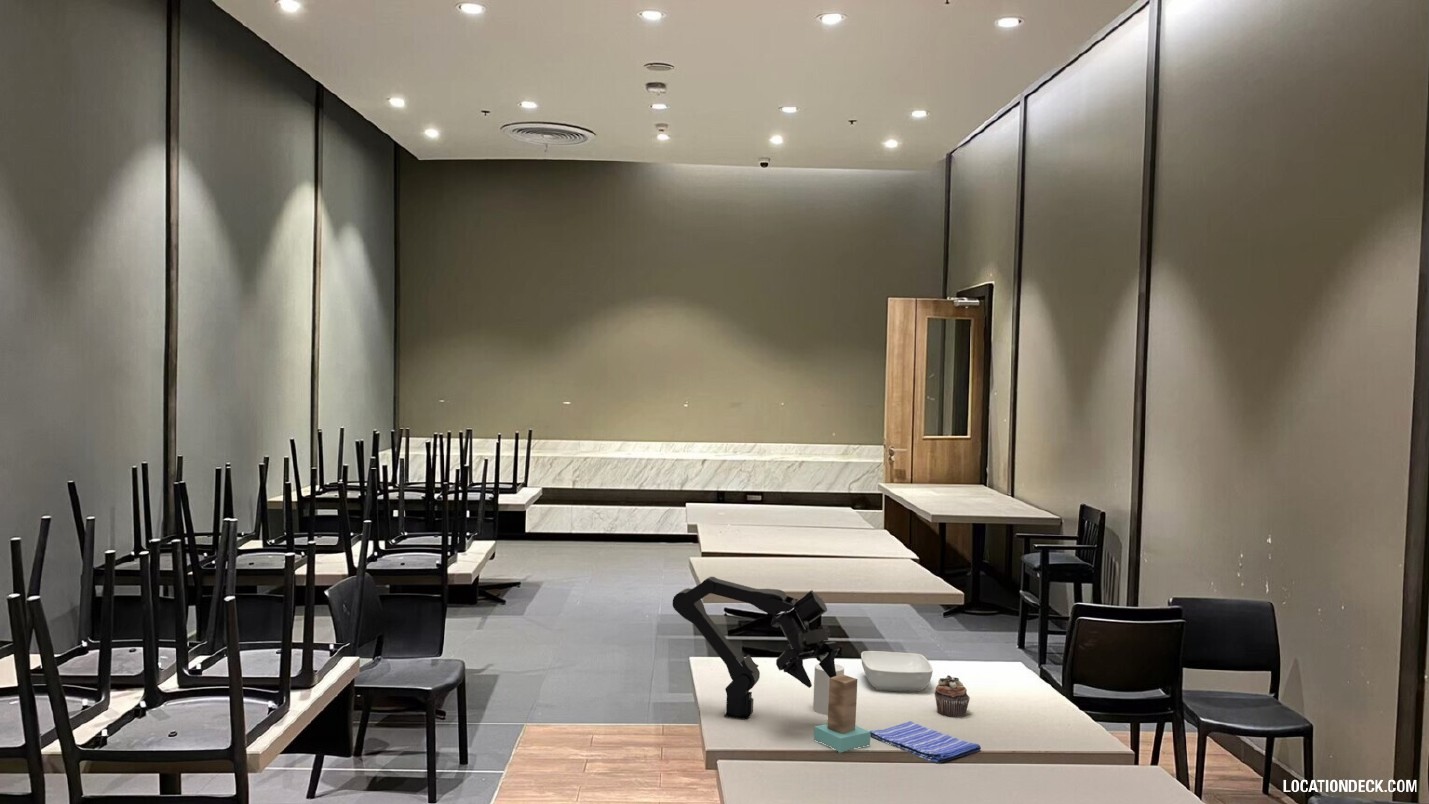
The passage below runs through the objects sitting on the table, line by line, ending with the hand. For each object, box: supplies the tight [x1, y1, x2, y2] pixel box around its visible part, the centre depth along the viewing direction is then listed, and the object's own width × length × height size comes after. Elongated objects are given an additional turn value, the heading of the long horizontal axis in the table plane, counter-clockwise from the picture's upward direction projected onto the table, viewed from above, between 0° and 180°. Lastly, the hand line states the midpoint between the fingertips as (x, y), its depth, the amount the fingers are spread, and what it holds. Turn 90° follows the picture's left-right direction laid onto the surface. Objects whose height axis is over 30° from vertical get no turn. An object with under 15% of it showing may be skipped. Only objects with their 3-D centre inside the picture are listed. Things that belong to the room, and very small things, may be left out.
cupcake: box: [934, 675, 971, 718], centre depth 295 cm, size 10×10×10 cm
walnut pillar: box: [827, 674, 858, 734], centre depth 267 cm, size 5×5×13 cm
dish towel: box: [868, 720, 982, 764], centre depth 269 cm, size 17×24×3 cm
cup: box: [812, 663, 845, 716], centre depth 293 cm, size 8×8×12 cm
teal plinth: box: [813, 723, 871, 754], centre depth 267 cm, size 10×10×4 cm
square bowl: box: [860, 650, 934, 693], centre depth 320 cm, size 20×20×8 cm
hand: (823, 683), depth 272 cm, fingers open, 9 cm apart
